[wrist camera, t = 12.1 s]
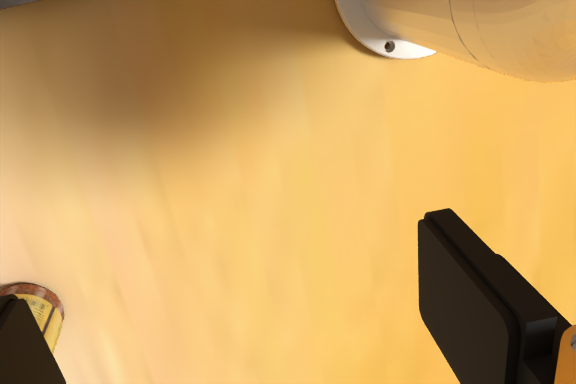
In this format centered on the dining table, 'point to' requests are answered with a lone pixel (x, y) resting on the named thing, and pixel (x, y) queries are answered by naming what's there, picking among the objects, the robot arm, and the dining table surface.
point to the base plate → (13, 3)
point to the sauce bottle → (41, 309)
